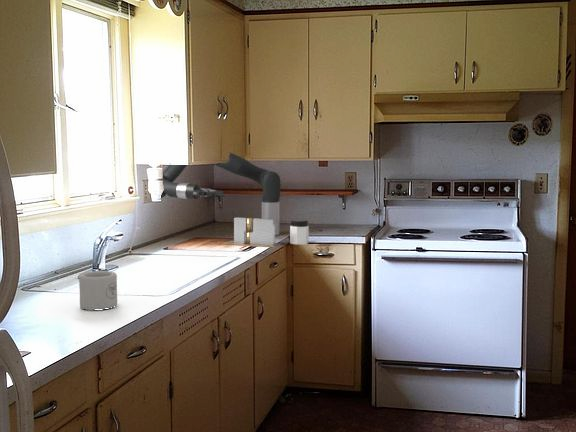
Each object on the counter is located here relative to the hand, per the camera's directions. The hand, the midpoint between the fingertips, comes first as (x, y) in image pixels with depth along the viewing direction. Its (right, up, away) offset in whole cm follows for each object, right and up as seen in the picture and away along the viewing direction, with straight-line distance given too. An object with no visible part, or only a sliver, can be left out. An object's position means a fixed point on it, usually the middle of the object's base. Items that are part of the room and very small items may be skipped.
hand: (219, 194), depth 325 cm
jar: (+38, -25, +1) cm, 45 cm away
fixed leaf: (+20, -24, -5) cm, 31 cm away
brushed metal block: (+12, -23, -2) cm, 26 cm away
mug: (-23, -38, -118) cm, 126 cm away
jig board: (+15, -25, -3) cm, 29 cm away
